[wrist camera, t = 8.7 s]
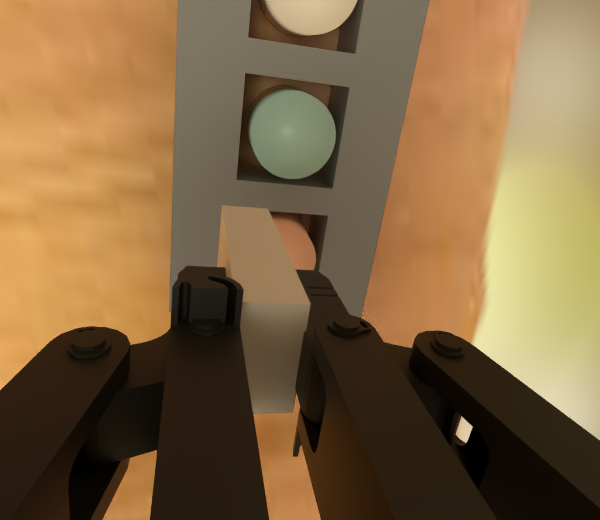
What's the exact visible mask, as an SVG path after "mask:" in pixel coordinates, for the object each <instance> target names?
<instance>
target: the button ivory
mask: <svg viewBox="0 0 600 520" xmlns="http://www.w3.org/2000/svg"><path fill="white" fill-rule="evenodd" d="M356 3H357V0H260V4H261V7H262V10H263V12H264V14H265V15H266V17H267V19H268V20H269V21H270V22H271V24H272V25H273V26H274V27H276V28H277V29H278V30H280V31H282V32H283V33H285V34H288V35H292V36H310V35H319V34H324V33H327V32H330V31H332V30H334V29H336V28H337V27H338V26H340V25H341V24H342V23H343V22H344V21H345V20H346V19H347V18H348V17H349V15H350V14H351V12H352V11H353V9H354V7H355V5H356Z"/></svg>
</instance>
